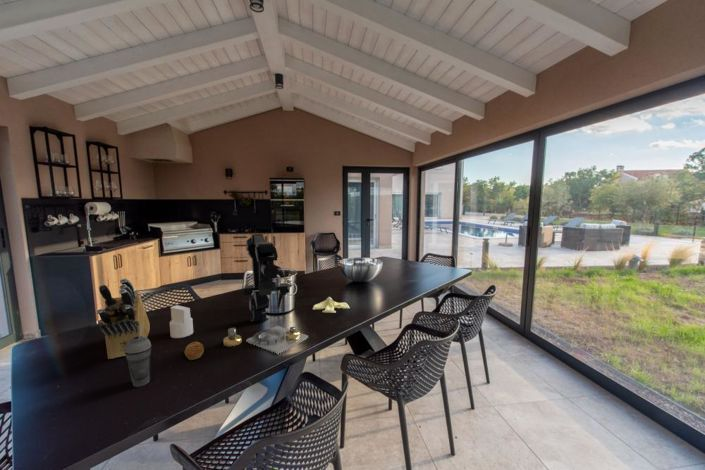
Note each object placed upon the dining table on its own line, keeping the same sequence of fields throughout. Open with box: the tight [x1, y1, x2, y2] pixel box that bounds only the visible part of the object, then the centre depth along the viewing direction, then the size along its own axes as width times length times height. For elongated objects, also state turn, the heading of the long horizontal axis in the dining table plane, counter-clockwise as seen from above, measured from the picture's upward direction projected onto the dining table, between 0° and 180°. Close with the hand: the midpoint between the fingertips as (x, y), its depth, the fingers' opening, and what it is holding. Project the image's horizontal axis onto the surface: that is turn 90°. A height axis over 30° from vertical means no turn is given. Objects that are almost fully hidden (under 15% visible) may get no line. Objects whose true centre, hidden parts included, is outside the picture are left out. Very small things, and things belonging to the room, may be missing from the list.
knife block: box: [96, 278, 151, 360], centre depth 123 cm, size 11×35×31 cm, turn 27°
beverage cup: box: [125, 324, 153, 388], centre depth 100 cm, size 7×7×20 cm
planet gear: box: [223, 327, 243, 348], centre depth 129 cm, size 7×7×6 cm
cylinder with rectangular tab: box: [169, 304, 194, 339], centre depth 138 cm, size 9×9×12 cm
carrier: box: [246, 325, 309, 355], centre depth 131 cm, size 19×17×5 cm
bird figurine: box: [312, 296, 351, 314], centre depth 173 cm, size 22×19×6 cm
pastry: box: [183, 341, 205, 361], centre depth 119 cm, size 9×7×4 cm
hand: (267, 308), depth 132 cm, fingers open, 9 cm apart
